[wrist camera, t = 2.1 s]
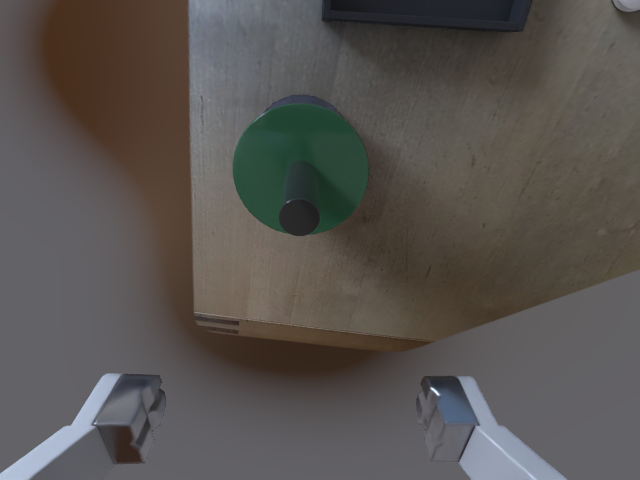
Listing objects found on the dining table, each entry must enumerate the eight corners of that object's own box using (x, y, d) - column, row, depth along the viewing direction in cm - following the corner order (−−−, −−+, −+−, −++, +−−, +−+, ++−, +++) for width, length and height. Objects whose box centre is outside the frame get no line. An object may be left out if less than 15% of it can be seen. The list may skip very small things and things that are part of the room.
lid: (239, 227, 32) (216, 288, 24) (230, 97, 26) (196, 120, 18) (359, 231, 32) (376, 291, 24) (374, 105, 27) (403, 129, 19)
